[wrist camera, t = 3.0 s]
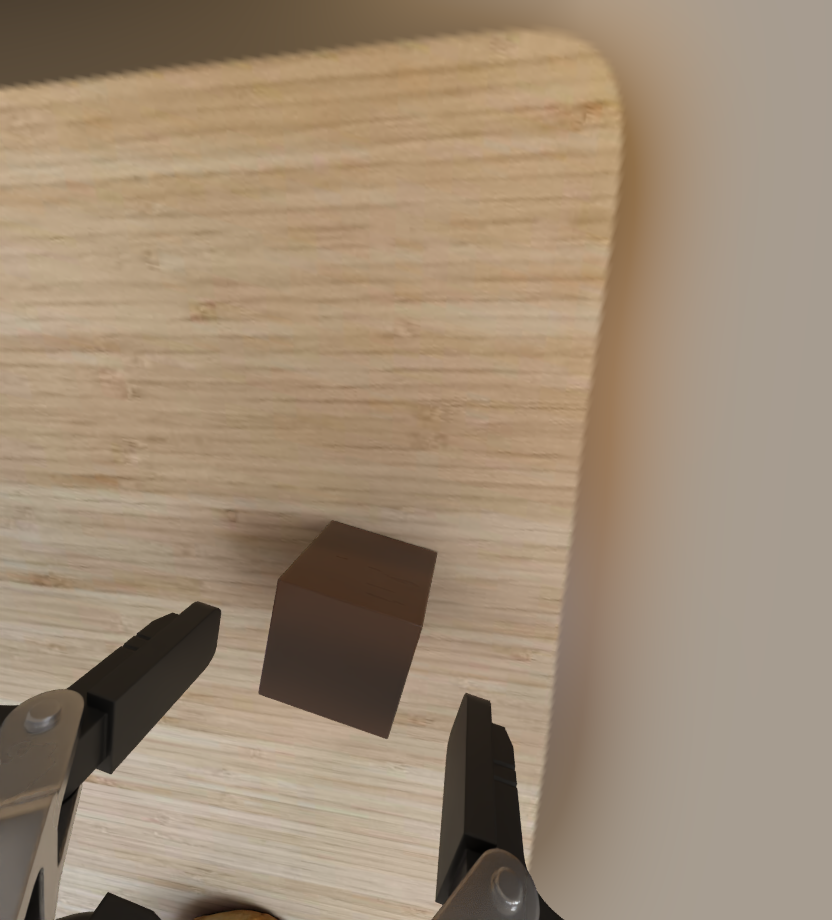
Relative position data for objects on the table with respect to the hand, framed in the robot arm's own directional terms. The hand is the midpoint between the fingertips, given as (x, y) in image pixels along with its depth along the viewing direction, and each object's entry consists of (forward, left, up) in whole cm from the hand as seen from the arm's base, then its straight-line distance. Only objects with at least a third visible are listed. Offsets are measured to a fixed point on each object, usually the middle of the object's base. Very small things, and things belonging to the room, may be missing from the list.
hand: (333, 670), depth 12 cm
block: (0, 0, -5) cm, 5 cm away
